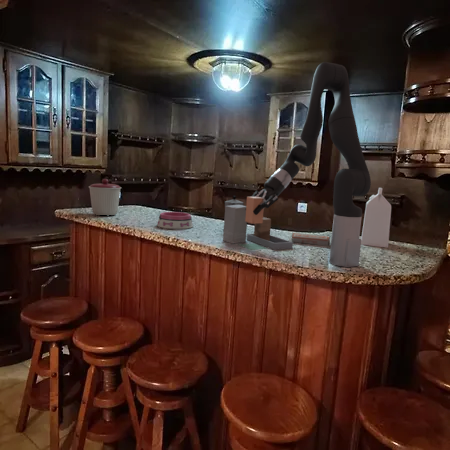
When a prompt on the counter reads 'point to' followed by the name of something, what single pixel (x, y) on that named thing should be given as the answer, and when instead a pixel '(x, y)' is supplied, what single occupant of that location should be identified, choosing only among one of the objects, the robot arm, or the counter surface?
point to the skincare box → (235, 224)
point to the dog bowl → (175, 220)
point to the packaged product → (310, 240)
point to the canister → (104, 198)
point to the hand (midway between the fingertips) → (250, 212)
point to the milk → (376, 221)
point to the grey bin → (271, 242)
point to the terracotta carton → (250, 206)
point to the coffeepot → (233, 203)
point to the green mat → (252, 246)
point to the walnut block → (263, 229)
